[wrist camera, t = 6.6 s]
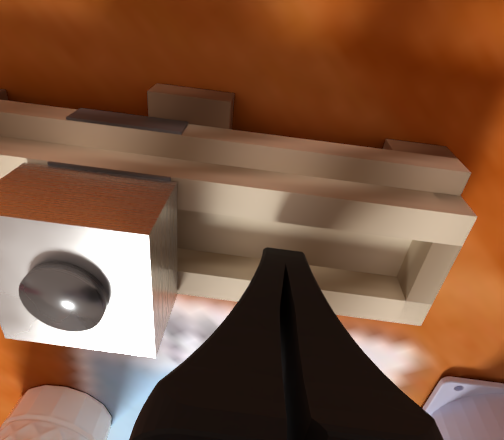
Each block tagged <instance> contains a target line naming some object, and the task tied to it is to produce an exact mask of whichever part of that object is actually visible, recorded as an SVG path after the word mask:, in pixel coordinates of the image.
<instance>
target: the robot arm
mask: <svg viewBox="0 0 504 440" xmlns="http://www.w3.org/2000/svg"><path fill="white" fill-rule="evenodd" d="M129 440H504V383H497V382H489V381H482V380H474V379H467V378H459V377H452V376H447V377H444V378H442V379H441V380H440V381H439V383H438V384H437V386H436V387H435V389H434V391H433V392H432V394H431V395H430V397H429V398H428V400H427V402H426V403H425V405H424V406H423V408H421V407H420V406H419V405H417V404H416V403H415V402H414V401H413V400H412V399H410V398H409V397H408V396H407V395H406V394H404V393H403V392H402V391H401V390H400V389H399V388H398V387H397V386H396V385H395V384H394V383H393V382H392V381H391V380H390V379H389V378H388V377H386V376H385V375H384V374H383V373H382V371H381V370H380V369H379V368H378V367H377V366H376V365H375V364H374V363H373V362H372V361H371V360H370V358H369V357H368V356H367V355H366V354H365V353H364V352H363V351H362V349H361V348H360V347H359V346H358V345H357V343H356V342H355V341H354V340H353V338H352V337H351V336H350V334H349V333H348V332H347V330H346V329H345V328H344V326H343V325H342V323H341V322H340V320H339V319H338V317H337V316H336V314H335V313H334V311H333V310H332V308H331V306H330V305H329V303H328V301H327V300H326V298H325V296H324V294H323V293H322V291H321V289H320V287H319V285H318V283H317V281H316V279H315V277H314V275H313V273H312V271H311V269H310V266H309V264H308V262H307V259H306V256H305V254H304V253H303V252H300V251H292V250H285V249H277V248H269V247H266V248H265V249H263V253H262V257H261V260H260V263H259V265H258V268H257V270H256V272H255V274H254V276H253V278H252V280H251V282H250V283H249V285H248V287H247V289H246V290H245V292H244V293H243V295H242V296H241V298H240V300H239V301H238V303H237V304H236V305H235V307H234V308H233V310H232V311H231V312H230V314H229V315H228V316H227V317H226V319H225V320H224V321H223V322H222V324H221V325H220V326H219V327H218V328H217V329H216V330H215V331H214V333H213V334H212V335H211V336H210V337H209V338H208V339H207V340H206V341H205V342H204V343H203V344H202V345H201V346H200V347H199V348H198V349H197V350H196V351H195V352H194V353H193V354H192V355H190V356H189V357H188V358H187V359H186V360H185V361H184V362H183V363H182V364H180V365H179V366H178V367H177V368H175V369H174V370H173V371H172V372H170V373H169V374H168V375H167V376H165V377H164V378H163V379H161V380H160V381H159V382H158V383H157V385H156V386H155V388H154V389H153V391H152V392H151V394H150V395H149V397H148V399H147V401H146V402H145V404H144V406H143V408H142V409H141V411H140V413H139V416H138V418H137V420H136V422H135V425H134V427H133V430H132V433H131V436H130V439H129Z"/></svg>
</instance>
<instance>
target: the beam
mask: <svg viewBox="0 0 504 440" xmlns="http://www.w3.org/2000/svg"><path fill="white" fill-rule="evenodd" d="M234 96H235V93H229V92H221V91H213V90H206V89H198V88H190V87H182V86H174V85H167V84H159V83H157V84H155V85H154V86H153V87H152V88H150V89H149V90H148V91H147V99H148V116H140V115H132V114H125V113H117V112H109V111H102V110H94V109H86V108H79V109H78V110H77V109H69V108H62V107H54V106H46V105H38V104H31V103H23V102H15V101H8V97H7V93H6V90H5V89H0V179H1V178H3V177H4V176H5V175H7V174H8V173H10V172H11V171H13V170H14V169H15V168H17V167H18V166H20V165H21V164H22V163H24V162H27V163H35V164H43V165H50V166H58V167H66V168H73V169H81V170H89V171H96V172H104V173H112V174H119V175H127V176H135V177H142V178H150V179H158V180H166V181H173V182H177V293H178V294H183V295H191V296H198V297H206V298H213V299H221V300H229V301H236V302H238V301H239V300H240V298H241V296H242V295H243V293H244V292H245V290H246V289H247V287H248V285H249V283H250V282H251V280H252V278H253V276H254V274H255V272H256V270H257V268H258V265H259V263H260V260H261V257H262V253H263V249H265V248H266V247H269V248H277V249H285V250H292V251H300V252H303V253H304V254H305V256H306V259H307V262H308V264H309V266H310V269H311V271H312V273H313V275H314V277H315V279H316V281H317V283H318V285H319V287H320V289H321V291H322V293H323V294H324V296H325V298H326V300H327V301H328V303H329V305H330V306H331V308H332V310H333V311H334V313H335V314H336V315H342V316H350V317H358V318H365V319H373V320H380V321H388V322H395V323H403V324H411V325H418V326H421V325H422V323H423V321H424V319H425V317H426V315H427V313H428V311H429V309H430V307H431V305H432V303H433V301H434V300H435V298H436V296H437V294H438V292H439V290H440V288H441V286H442V284H443V282H444V280H445V278H446V276H447V275H448V273H449V271H450V269H451V267H452V265H453V263H454V261H455V259H456V257H457V255H458V253H459V251H460V249H461V248H462V246H463V244H464V242H465V240H466V238H467V236H468V234H469V232H470V230H471V228H472V226H473V224H474V222H475V221H476V219H477V216H476V214H475V213H474V212H473V211H472V209H471V208H470V207H469V206H468V205H467V203H466V202H465V201H464V200H463V198H462V197H461V194H462V192H463V189H464V187H465V185H466V183H467V181H468V179H469V177H470V175H471V172H470V171H469V170H468V169H467V168H466V167H465V166H464V165H463V164H462V163H461V162H460V161H459V160H458V158H457V157H456V156H455V155H454V154H453V153H452V152H451V151H450V150H449V149H448V148H447V147H446V146H439V145H431V144H423V143H415V142H408V141H400V140H392V139H385V142H384V146H383V149H379V148H371V147H363V146H355V145H348V144H340V143H332V142H325V141H317V140H309V139H301V138H294V137H286V136H278V135H270V134H263V133H255V132H247V131H239V130H232V121H233V109H234Z"/></svg>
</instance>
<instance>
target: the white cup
mask: <svg viewBox="0 0 504 440" xmlns="http://www.w3.org/2000/svg"><path fill="white" fill-rule="evenodd" d="M111 418H112V417H111V415H110V414H109V412H108V411H107V409H106V408H105V406H104V405H103V404H102V403H100V402H99V401H97V400H96V399H94V398H93V397H91V396H90V395H88V394H86V393H83V392H80V391H77V390H75V389H72V388H68V387H63V386H52V385H43V386H39V387H35V388H31V389H28V390H27V392H26V393H25V394H24V395H23V396H22V397H21V398H20V399H19V401H18V402H17V404H16V405H15V406H14V408H13V409H12V411H11V412H10V414H9V415H8V417H7V418H6V420H5V421H4V423H3V424H2V425H1V427H0V440H107V437H108V434H109V431H110V428H111Z"/></svg>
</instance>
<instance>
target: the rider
mask: <svg viewBox="0 0 504 440" xmlns="http://www.w3.org/2000/svg"><path fill="white" fill-rule="evenodd" d="M177 294H178V293H177V182H173V181H166V180H158V179H150V178H142V177H135V176H127V175H119V174H112V173H104V172H96V171H89V170H81V169H73V168H66V167H58V166H50V165H43V164H35V163H27V162H24V163H22V164H21V165H20V166H18V167H17V168H15V169H14V170H13V171H11V172H10V173H8V174H7V175H5V176H4V177H3V178H1V179H0V325H1V328H2V330H3V333H4V335H5V338H8V339H16V340H23V341H31V342H38V343H46V344H53V345H61V346H68V347H76V348H83V349H91V350H99V351H106V352H114V353H121V354H129V355H136V356H144V357H151V358H156V355H157V352H158V349H159V346H160V343H161V341H162V338H163V335H164V332H165V329H166V326H167V323H168V320H169V317H170V314H171V311H172V308H173V306H174V303H175V300H176V297H177Z"/></svg>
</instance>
